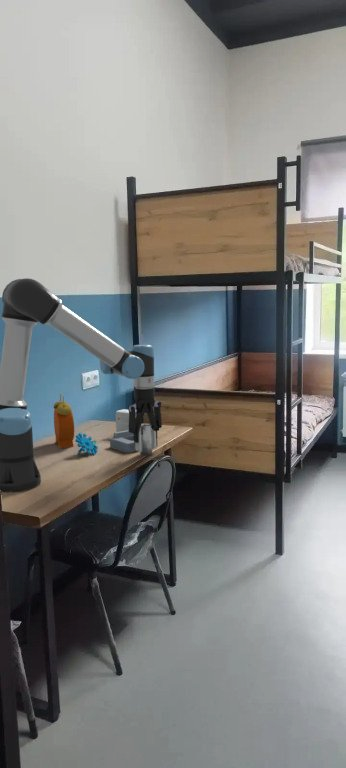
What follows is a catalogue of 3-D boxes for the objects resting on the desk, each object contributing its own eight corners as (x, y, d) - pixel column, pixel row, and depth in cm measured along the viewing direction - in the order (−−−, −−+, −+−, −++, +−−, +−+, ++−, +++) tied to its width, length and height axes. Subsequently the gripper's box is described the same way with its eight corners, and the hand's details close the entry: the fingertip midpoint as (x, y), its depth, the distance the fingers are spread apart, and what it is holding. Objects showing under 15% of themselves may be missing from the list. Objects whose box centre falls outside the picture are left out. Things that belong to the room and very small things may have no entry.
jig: (127, 453, 219) (127, 439, 218) (110, 446, 228) (109, 433, 227) (157, 446, 227) (157, 432, 227) (139, 440, 237) (138, 427, 236)
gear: (87, 454, 212) (72, 432, 215) (77, 464, 214) (63, 442, 218) (105, 450, 222) (91, 430, 225) (95, 460, 224) (82, 440, 227)
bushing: (144, 456, 213) (143, 427, 212) (137, 454, 217) (136, 425, 215) (154, 454, 216) (153, 425, 215) (147, 451, 220) (146, 423, 218)
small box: (139, 435, 246) (138, 410, 245) (131, 437, 242) (130, 412, 240) (124, 432, 251) (123, 408, 249) (116, 435, 246) (115, 411, 244)
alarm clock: (75, 447, 228) (73, 396, 225) (59, 449, 226) (57, 398, 223) (69, 439, 240) (67, 391, 237) (54, 441, 238) (51, 393, 235)
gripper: (128, 391, 204) (130, 456, 207) (171, 385, 216) (172, 446, 219) (116, 389, 210) (118, 452, 213) (158, 383, 222) (160, 442, 225)
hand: (146, 449), depth 216 cm, fingers open, 6 cm apart
